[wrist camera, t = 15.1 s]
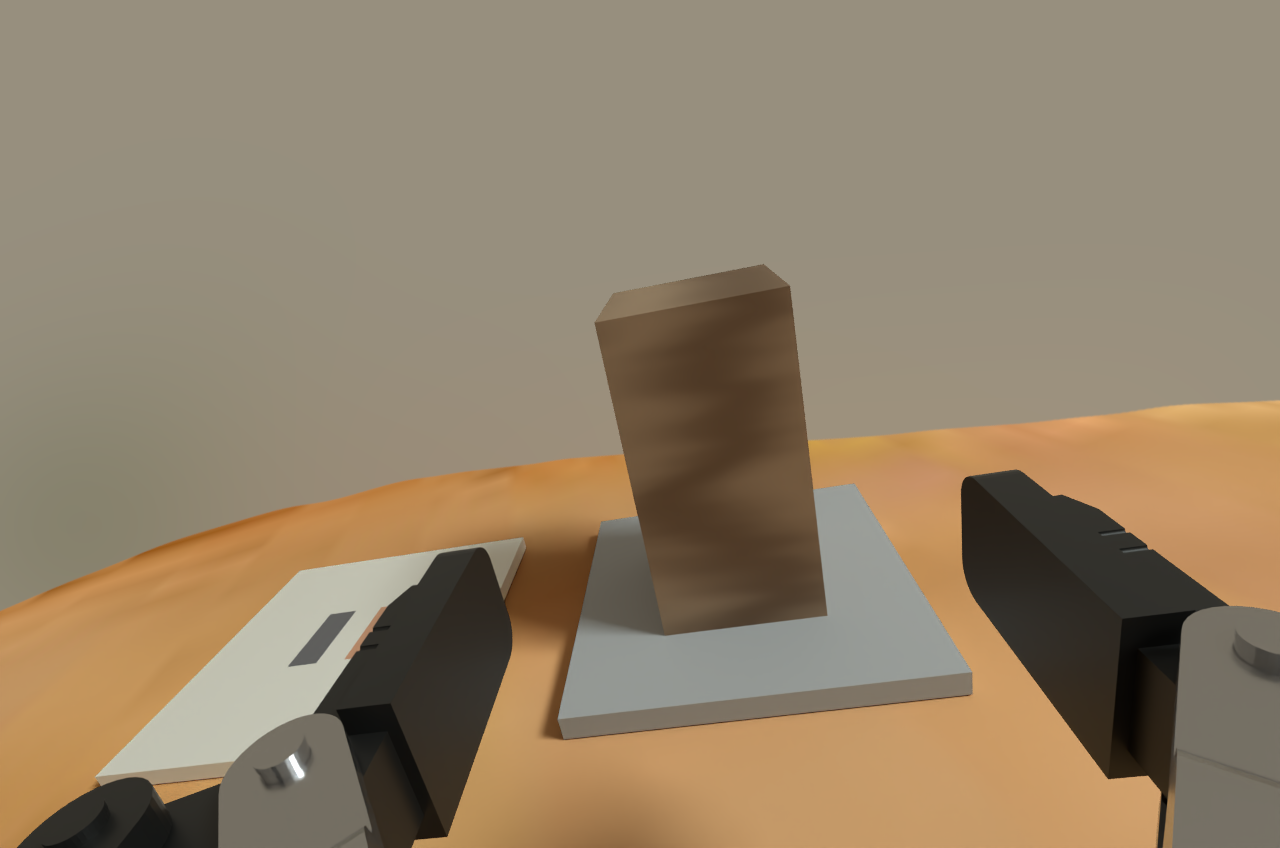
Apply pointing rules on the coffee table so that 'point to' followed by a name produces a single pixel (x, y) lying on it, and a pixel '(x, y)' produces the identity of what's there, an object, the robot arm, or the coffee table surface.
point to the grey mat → (757, 640)
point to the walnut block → (716, 447)
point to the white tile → (279, 665)
